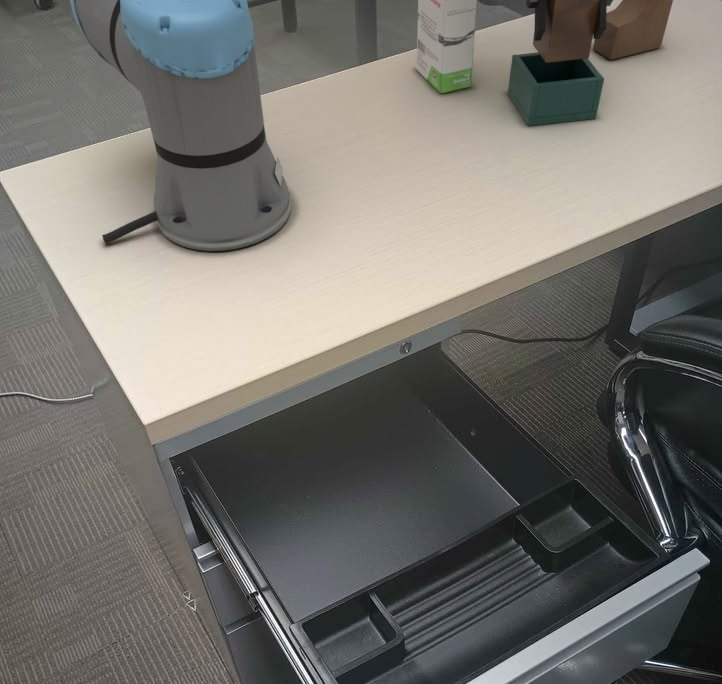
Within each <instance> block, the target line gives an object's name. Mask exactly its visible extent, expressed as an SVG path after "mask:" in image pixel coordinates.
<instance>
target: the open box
mask: <svg viewBox="0 0 722 684" xmlns="http://www.w3.org/2000/svg"><path fill="white" fill-rule="evenodd" d="M510 64H511V65H510V72H509V80H508V90H507V95H508V96H509V98H510V100H511V102H512V103H513V104H514V106H515V108H516V109H517V111H518V113H519V114H520V116H521V118H522V120H523V121H524V122H525V124H526V126H527V127H533V126H544V125H551V124H552V125H553V124H559V123H569V122H575V121H576V122H577V121H587V120H595V119H597V115H598V111H599V106H600V101H601V96H602V92H603V88H604V87H603V86H604V82H605V78H604V77H603V76H602V74H601V73H600V71H599V70H598V69H597V68H596V67H595V66H594V64H593V62H591V61H590V59H589V58H587V59H578V60H569V61H559V62H550V63H546V62H545V61H544V59H543V58H542V57H541V55H540V54H539V52H538V51H537V52H528V53H520V54H519V53H518V54H512V55H511V63H510Z"/></svg>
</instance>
